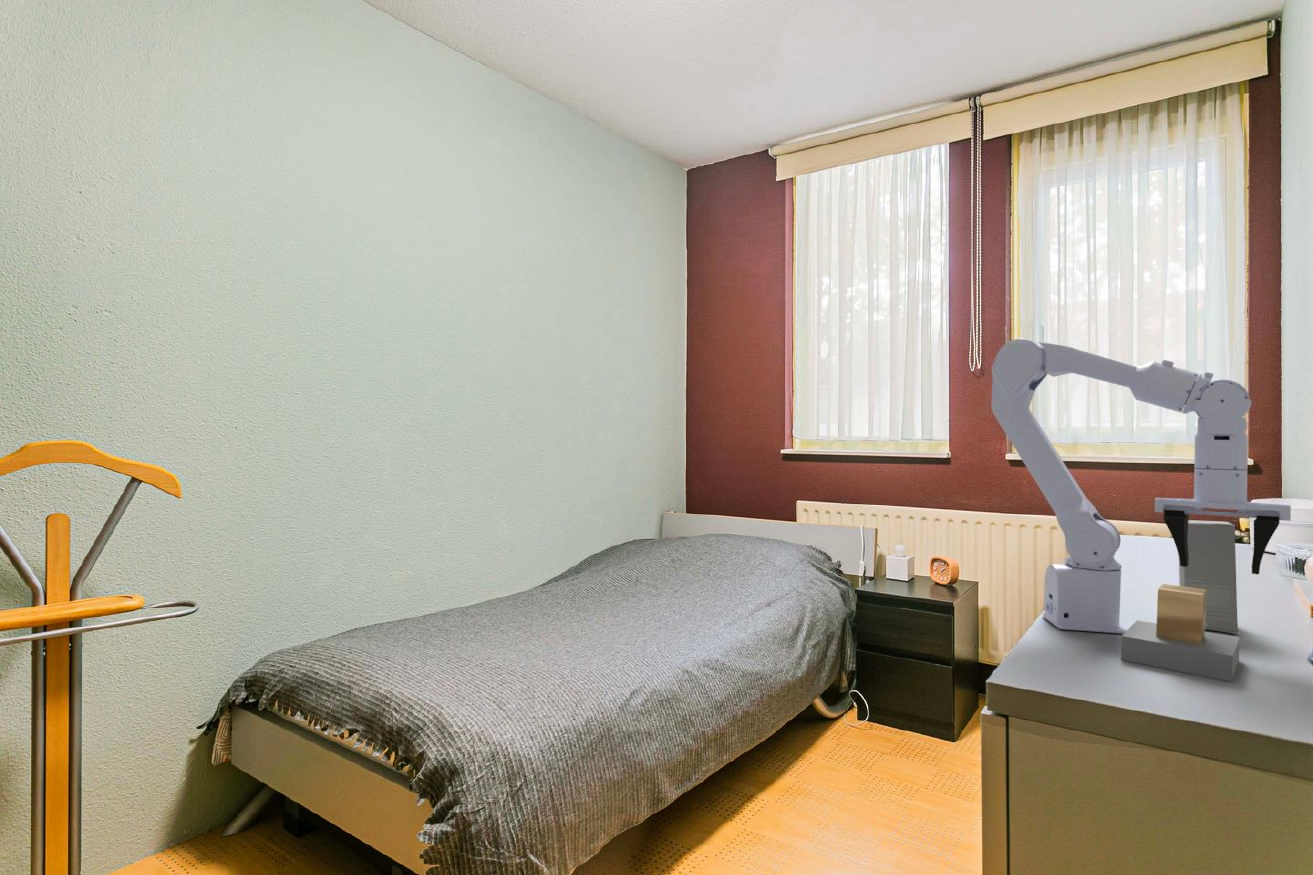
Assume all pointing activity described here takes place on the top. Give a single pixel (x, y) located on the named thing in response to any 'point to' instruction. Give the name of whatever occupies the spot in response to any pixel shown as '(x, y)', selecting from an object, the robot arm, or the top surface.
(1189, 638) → the oak block
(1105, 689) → the top surface
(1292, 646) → the top surface
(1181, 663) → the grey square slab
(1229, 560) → the skincare box
